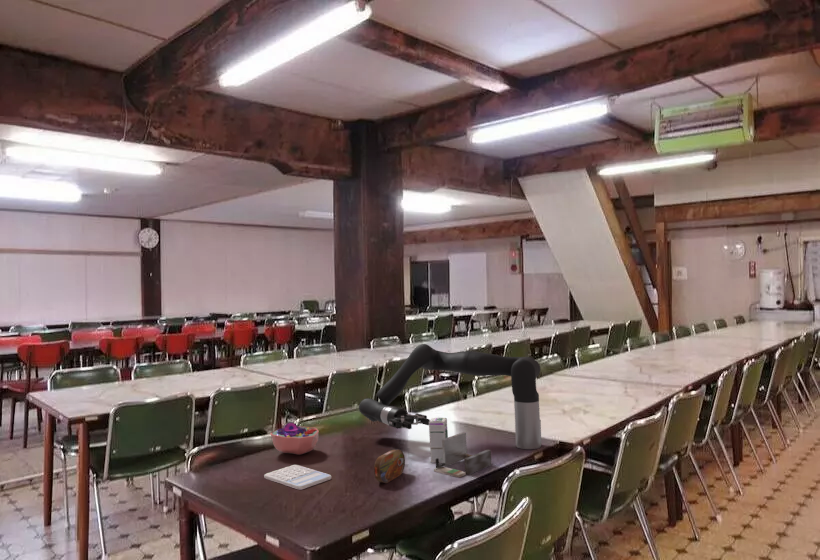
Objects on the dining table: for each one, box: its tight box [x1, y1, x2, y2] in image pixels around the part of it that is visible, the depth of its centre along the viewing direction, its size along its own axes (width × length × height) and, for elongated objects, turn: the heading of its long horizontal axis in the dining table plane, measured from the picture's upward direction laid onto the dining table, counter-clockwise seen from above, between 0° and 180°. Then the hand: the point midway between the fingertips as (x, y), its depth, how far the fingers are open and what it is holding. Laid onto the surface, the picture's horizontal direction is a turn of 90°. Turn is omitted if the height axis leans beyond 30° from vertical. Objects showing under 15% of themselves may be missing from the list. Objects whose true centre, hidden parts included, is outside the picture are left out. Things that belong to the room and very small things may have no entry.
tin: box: [373, 449, 406, 484], centre depth 185 cm, size 15×3×8 cm, turn 149°
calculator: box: [263, 464, 332, 490], centre depth 188 cm, size 13×20×2 cm, turn 48°
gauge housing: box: [433, 449, 492, 478], centre depth 193 cm, size 18×12×5 cm, turn 138°
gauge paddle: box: [435, 431, 468, 468], centre depth 195 cm, size 16×1×9 cm, turn 138°
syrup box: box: [428, 417, 449, 464], centre depth 202 cm, size 6×6×14 cm
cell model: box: [269, 421, 319, 456], centre depth 217 cm, size 17×20×11 cm
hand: (420, 424), depth 210 cm, fingers open, 8 cm apart
